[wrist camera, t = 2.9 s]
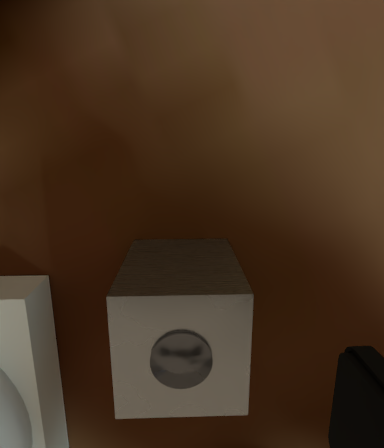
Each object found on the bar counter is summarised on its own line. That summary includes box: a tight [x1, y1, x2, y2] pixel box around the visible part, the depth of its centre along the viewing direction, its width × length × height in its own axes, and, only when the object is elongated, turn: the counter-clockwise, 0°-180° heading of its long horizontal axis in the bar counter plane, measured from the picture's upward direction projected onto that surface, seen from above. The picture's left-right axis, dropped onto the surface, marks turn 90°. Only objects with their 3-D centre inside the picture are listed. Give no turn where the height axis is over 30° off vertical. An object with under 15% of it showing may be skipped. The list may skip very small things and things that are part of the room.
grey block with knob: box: [106, 239, 254, 419], centre depth 13 cm, size 4×4×6 cm
